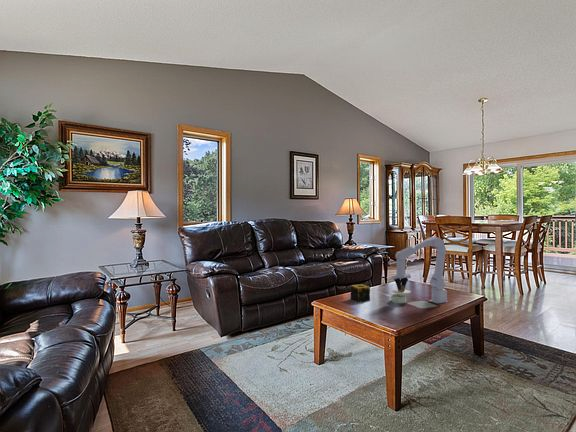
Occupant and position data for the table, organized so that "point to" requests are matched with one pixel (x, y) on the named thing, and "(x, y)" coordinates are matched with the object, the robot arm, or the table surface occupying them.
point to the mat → (422, 304)
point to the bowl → (398, 298)
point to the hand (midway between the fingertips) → (401, 289)
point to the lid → (401, 290)
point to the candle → (360, 293)
